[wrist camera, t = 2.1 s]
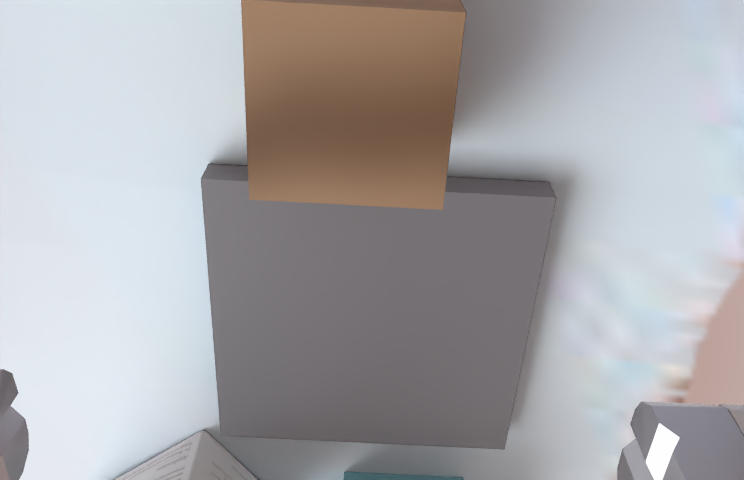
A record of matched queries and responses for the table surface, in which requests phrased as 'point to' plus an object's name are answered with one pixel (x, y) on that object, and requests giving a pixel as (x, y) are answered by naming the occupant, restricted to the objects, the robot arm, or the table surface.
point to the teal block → (393, 476)
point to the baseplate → (373, 312)
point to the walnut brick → (351, 99)
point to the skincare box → (191, 463)
